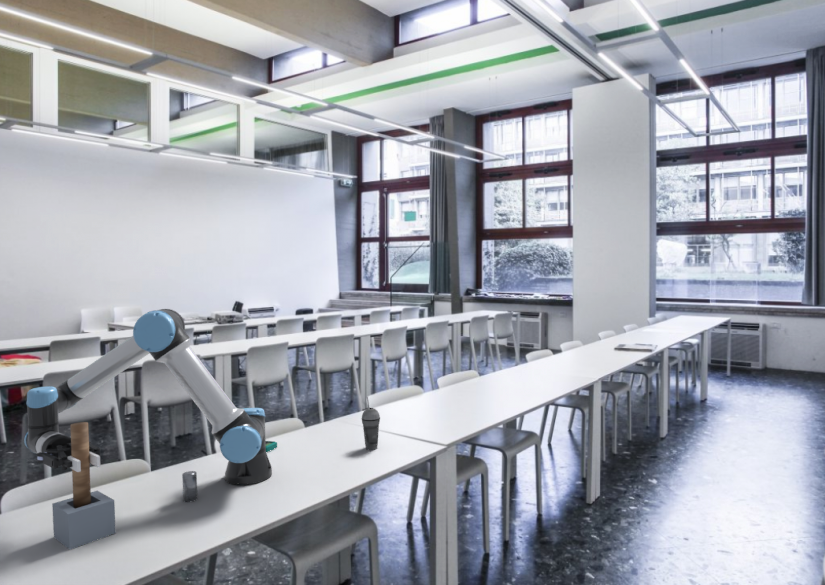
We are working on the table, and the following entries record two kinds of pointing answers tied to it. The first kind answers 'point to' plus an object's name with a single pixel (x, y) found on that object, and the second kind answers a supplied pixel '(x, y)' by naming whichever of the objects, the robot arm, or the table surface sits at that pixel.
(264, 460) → the robot arm
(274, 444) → the digital multimeter
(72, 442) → the long walnut pin
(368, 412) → the beverage cup
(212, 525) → the table surface
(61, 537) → the collar block
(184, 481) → the short steel pin
